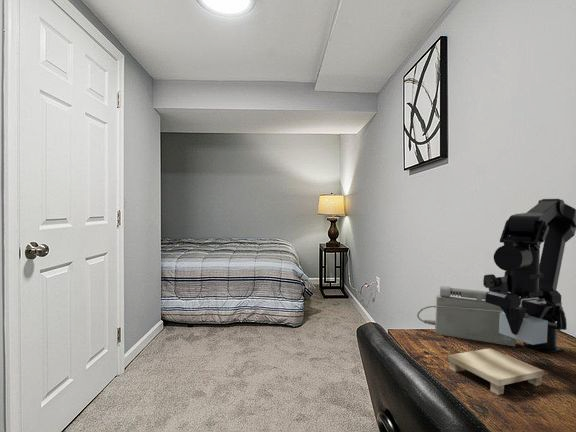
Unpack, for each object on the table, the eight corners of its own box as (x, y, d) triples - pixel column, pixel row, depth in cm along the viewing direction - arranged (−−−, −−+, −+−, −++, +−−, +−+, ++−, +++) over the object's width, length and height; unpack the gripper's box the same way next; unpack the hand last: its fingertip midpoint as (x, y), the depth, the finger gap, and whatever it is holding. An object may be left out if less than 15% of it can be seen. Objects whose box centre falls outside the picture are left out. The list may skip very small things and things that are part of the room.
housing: (499, 332, 84) (499, 309, 84) (513, 330, 86) (513, 307, 86) (532, 344, 77) (533, 319, 76) (547, 342, 78) (547, 317, 78)
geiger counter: (515, 291, 94) (418, 281, 105) (519, 296, 88) (417, 285, 99) (513, 341, 94) (417, 327, 105) (518, 349, 88) (415, 333, 99)
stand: (489, 360, 81) (489, 348, 81) (543, 384, 70) (543, 370, 70) (448, 368, 76) (448, 355, 76) (498, 395, 65) (498, 380, 65)
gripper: (517, 262, 92) (515, 319, 92) (466, 263, 85) (464, 326, 85) (563, 268, 82) (561, 333, 82) (509, 271, 75) (507, 342, 75)
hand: (522, 333), depth 81 cm, fingers closed on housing, 5 cm apart
